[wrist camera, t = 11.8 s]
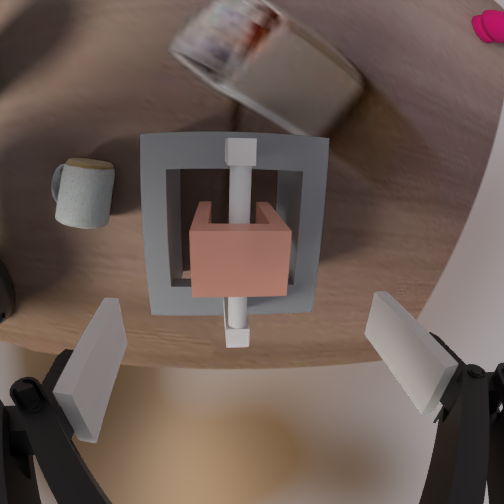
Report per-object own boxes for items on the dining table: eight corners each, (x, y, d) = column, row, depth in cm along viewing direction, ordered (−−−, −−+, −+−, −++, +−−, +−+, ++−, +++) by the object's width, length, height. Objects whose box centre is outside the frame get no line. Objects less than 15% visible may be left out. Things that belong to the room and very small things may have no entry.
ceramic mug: (124, 161, 37) (103, 165, 30) (115, 219, 40) (95, 234, 32) (60, 153, 35) (31, 156, 28) (54, 207, 38) (27, 220, 31)
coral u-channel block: (200, 247, 32) (192, 297, 22) (199, 201, 31) (189, 231, 20) (265, 247, 33) (286, 295, 23) (267, 201, 31) (291, 231, 21)
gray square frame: (166, 271, 43) (140, 353, 25) (161, 136, 37) (118, 131, 19) (288, 270, 45) (331, 347, 28) (297, 139, 39) (360, 138, 21)
